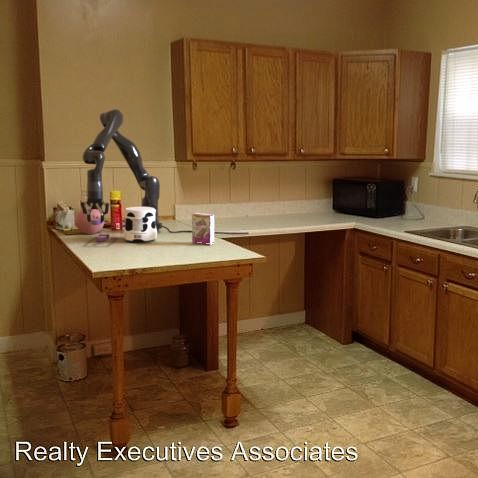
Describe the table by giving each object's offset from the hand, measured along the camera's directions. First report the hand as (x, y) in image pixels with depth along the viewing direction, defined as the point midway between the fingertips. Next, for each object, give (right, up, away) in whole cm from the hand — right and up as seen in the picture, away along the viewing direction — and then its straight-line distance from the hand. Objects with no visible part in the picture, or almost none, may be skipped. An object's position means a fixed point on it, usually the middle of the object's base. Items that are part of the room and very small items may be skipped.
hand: (95, 222), depth 313 cm
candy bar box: (+53, -12, +14) cm, 56 cm away
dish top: (-2, -9, +17) cm, 19 cm away
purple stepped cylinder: (0, -1, 0) cm, 1 cm away
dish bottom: (-1, -10, +10) cm, 14 cm away
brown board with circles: (-1, -11, +10) cm, 14 cm away
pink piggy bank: (-13, -7, +28) cm, 32 cm away
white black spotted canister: (+19, -10, +15) cm, 26 cm away
